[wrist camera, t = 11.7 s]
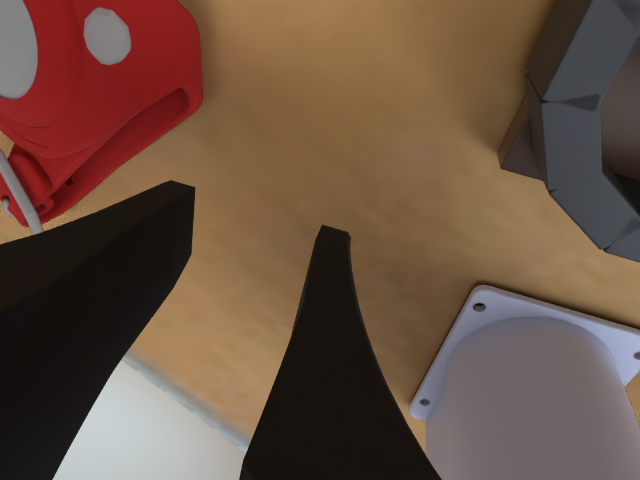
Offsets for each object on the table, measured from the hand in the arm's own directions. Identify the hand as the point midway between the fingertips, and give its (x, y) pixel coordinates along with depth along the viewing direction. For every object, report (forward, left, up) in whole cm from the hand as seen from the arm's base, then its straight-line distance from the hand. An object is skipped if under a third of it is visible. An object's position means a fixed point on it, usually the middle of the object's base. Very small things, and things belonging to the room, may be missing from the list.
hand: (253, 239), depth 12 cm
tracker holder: (-1, +10, -8) cm, 13 cm away
